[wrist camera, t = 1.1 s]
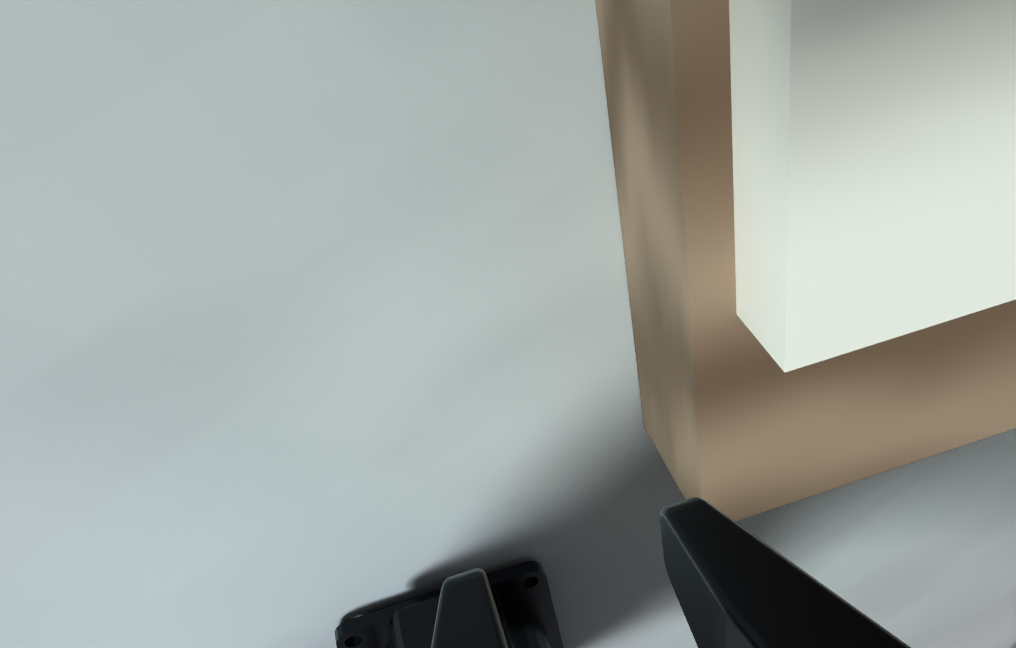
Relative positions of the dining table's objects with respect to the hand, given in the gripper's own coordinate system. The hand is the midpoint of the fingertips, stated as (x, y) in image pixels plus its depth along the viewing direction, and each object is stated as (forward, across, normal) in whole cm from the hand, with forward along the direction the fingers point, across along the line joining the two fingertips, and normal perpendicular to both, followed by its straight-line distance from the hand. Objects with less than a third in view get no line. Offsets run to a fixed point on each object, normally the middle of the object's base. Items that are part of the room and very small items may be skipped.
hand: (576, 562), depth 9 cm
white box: (+8, -8, 0) cm, 12 cm away
